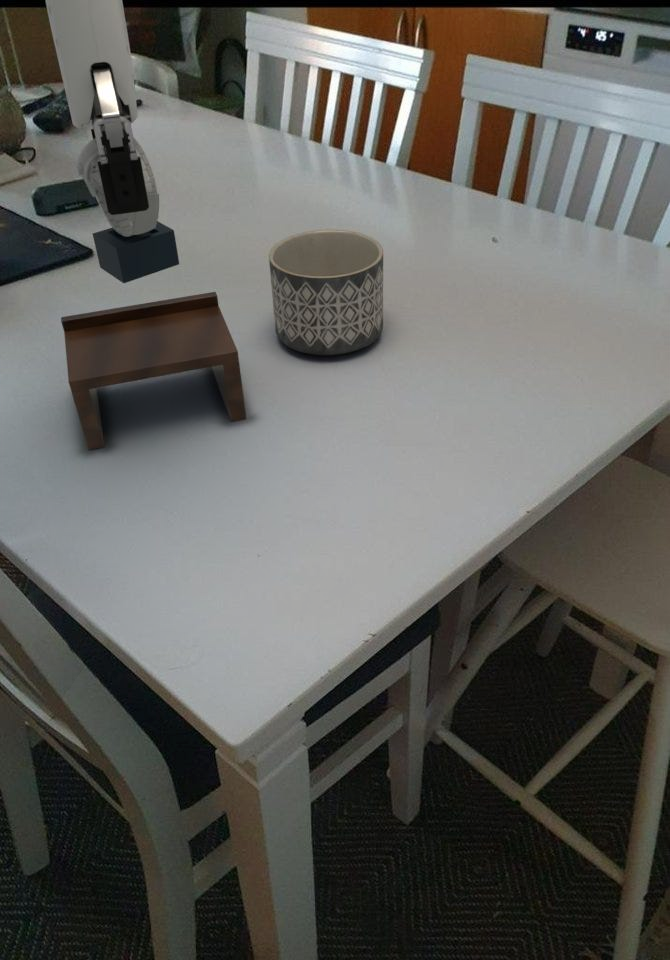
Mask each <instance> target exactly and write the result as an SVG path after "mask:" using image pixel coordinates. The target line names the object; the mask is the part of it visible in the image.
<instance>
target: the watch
mask: <svg viewBox="0 0 670 960" xmlns="http://www.w3.org/2000/svg"><path fill="white" fill-rule="evenodd" d="M133 138H134V143H135V148H136V153H137V157H140V159H141V164H142V170H143V175H144V181H145V186H146V192H147V197H148V203H149V208H148V209H147V210H146V211H139V212H132V213H125V214H117V215H111V214H110V213H109V212H108V209H107V204H106V200H105V195H104V190H103V186H102V181H101V176H100V172H99V167H98V162H99V161H101V160H100V156H99V151H98V146H97V142H96V138H95V139H93V138H92V139H91V140H90V141H88V143H86V145H84V147H82V149H81V151H80V152H79V154H78V157H77V159H76V165H74V168H73V169H74V172H75V175H76V176H77V177H78V176H80V177H81V178H82V179H83V181H84V183H85V185H86V187H87V189H88V191H89V193H90V195H91V196H92V197H93V198H95V199H96V201H97V203H98V205H99V208H100V211H101V212H102V214H103V216H104V218H105V219H106V221H107V222H108V223H109V225H110V226H111V227H109V228H106V229H102V230H100V231H96V232H93V233H92V237H93V242H94V246H95V251H96V255H97V260H98V264H99V268H100V269H102V270H103V271H104V272H106V273H108V274H109V275H111V276H112V277H113V278H115V279H116V280H118V281H119V282H121V283H122V284H126V283H129V282H130V283H131V282H133V281H135V280H138V279H141V278H145V277H147V276H150V275H153V274H155V273H158V272H161V271H164V270H167V269H170V268H174V267H176V266H179V265H180V259H179V254H178V253H179V252H178V247H177V242H176V235H175V230H174V229H173V228H171V227H169V226H167V225H166V224H164V223H162V222H160V221H159V214H160V193H159V192H158V189H157V182H156V178H155V176H154V172H153V169H152V166H151V164H150V161H149V158H148V157H147V154H146V153H145V150H144V149H143V147H142V145H141V144H140V143H139V142H138V140H137V139H136V138H135V137H133ZM105 151H106V148H105ZM106 154H107V153H106ZM107 160H108V158H107Z"/></svg>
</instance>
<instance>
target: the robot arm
mask: <svg viewBox="0 0 670 960" xmlns="http://www.w3.org/2000/svg"><path fill="white" fill-rule="evenodd" d="M45 6H46V10H47V16H48V20H49V26H50V30H51V35H52V39H53V44H54V48H55V52H56V57H57V61H58V65H59V70H60V74H61V79H62V82H63V88H64V91H65V92H64V93H65V96H66V101H67V105H68V109H69V114H70V117H71V118H70V119H71V122H72V125H73V126H74V127H75V128H77V129H78V130H83V125H86V124H90V122H91V126H92V128H90V132H91V137H92V140H93V139H95V138H96V142H97V146H98V151H99V156H100V160H101V161H99V162H98V167H99V172H100V176H101V181H102V186H103V190H104V195H105V200H106V204H107V209H108V212H109V213H110V214H111V215H117V214H125V213H132V212H139V211H146V210H147V209H148V208H149V203H148V197H147V192H146V186H145V181H144V175H143V170H142V164H141V159H140V157H137V153H136V148H135V143H134V138H135V137H134V134H133V129H132V125H131V124H133V123H134V122H135V121H136V120H137V119H138V118H139V117H138V116H139V115H138V105H137V95H136V86H135V85H136V84H135V77H134V69H133V61H132V54H131V48H130V41H129V40H130V39H129V34H128V28H127V22H126V16H125V9H124V3H123V0H45ZM105 148H106V151H105ZM106 153H107V154H106ZM107 158H108V160H107Z"/></svg>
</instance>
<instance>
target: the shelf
mask: <svg viewBox="0 0 670 960" xmlns="http://www.w3.org/2000/svg"><path fill="white" fill-rule="evenodd" d="M218 298H219V297H218V295H217V292H216V291H211V292H204V293H199V294H193V295H186V296H182V297H175V298H169V299H163V300H157V301H151V302H144V303H139V304H138V303H137V304H133V305H126V306H120V307H114V308H108V309H102V310H95V311H89V312H85V313H78V314H71V315H66V316H61V317H60V322H61V325H62V329H63V330H62V331H63V335H64V346H65V347H64V348H65V358H66V367H67V378H68V385H69V389H70V391H71V395H72V398H73V402H74V407H75V409H76V412H77V416H78V419H79V422H80V426H81V430H82V433H83V437H84V440H85V444H86V447H87V450H88V451H91V450H96V449H101V448H105V440H104V433H103V426H102V419H101V412H100V411H101V410H100V405H99V398H98V397H99V396H98V389H99V388H104V387H109V386H110V387H111V386H115V385H120V384H126V383H131V382H137V381H142V380H148V379H153V378H154V379H155V378H158V377H163V376H164V377H165V376H169V375H170V376H171V375H173V374H174V375H175V374H180V373H185V372H190V371H191V372H192V371H196V370H203V369H207V368H211V370H212V373H213V375H214V378H215V380H216V384H217V386H218V389H219V392H220V395H221V397H222V400H223V403H224V406H225V408H226V409H225V410H226V411H227V414H228V417H229V420H230V422H231V423H233V422H238V421H242V420H246V419H247V414H246V406H245V398H244V389H243V382H242V374H241V366H240V357H239V351H238V349H237V346H236V344H235V342H234V339H233V337H232V334H231V332H230V329H229V327H228V325H227V322H226V320H225V317H224V315H223V313H222V311H221V307H220V306H219V299H218Z"/></svg>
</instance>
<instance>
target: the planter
mask: <svg viewBox="0 0 670 960" xmlns="http://www.w3.org/2000/svg"><path fill="white" fill-rule="evenodd" d="M269 250H270V251H269V253H268V263H269V270H270V271H269V273H270V283H271V284H270V286H271V295H272V305H273V307H272V308H273V316H274V327H275V328H274V329H275V333H276V336H277V338H278V339H279V341H280V342H281V343H282V344H283V345H285V346H286V347H287V348H290V349H292V350H294V351H297V352H299V353H304V354H308V355H314V356H338V355H344V354H348V353H353V352H357V351H360V350H361V349H364V348H366V347H368V346H369V345H370V346H371V344H373V343H374V342H375V341H376V340H377V339H379V337H380V336H381V334H382V331H383V329H384V248H383V246H382V244H381V243H380V242H379V241H377V240H376V239H375V238H374V237H371V236H370V235H367V234H364V233H361V232H357V231H353V230H347V229H316V230H309V231H304V232H300V233H296V234H293V235H290V236H287V237H285V238H283V239H281V240H280V241H278V242H277V243H275V244H274V245H273V246H272V247H271V248H270V249H269Z"/></svg>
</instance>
